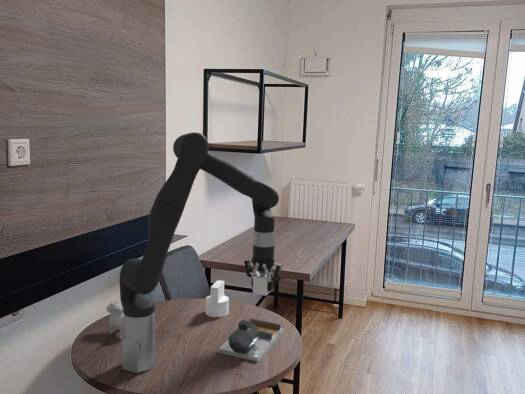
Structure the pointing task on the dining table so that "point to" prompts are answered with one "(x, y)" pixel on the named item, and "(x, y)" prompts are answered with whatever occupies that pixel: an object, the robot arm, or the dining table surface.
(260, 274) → the cube with round knob
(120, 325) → the dog figurine
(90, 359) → the dining table surface
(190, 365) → the dining table surface
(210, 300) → the white appliance knob
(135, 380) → the dining table surface
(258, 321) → the motor mount
